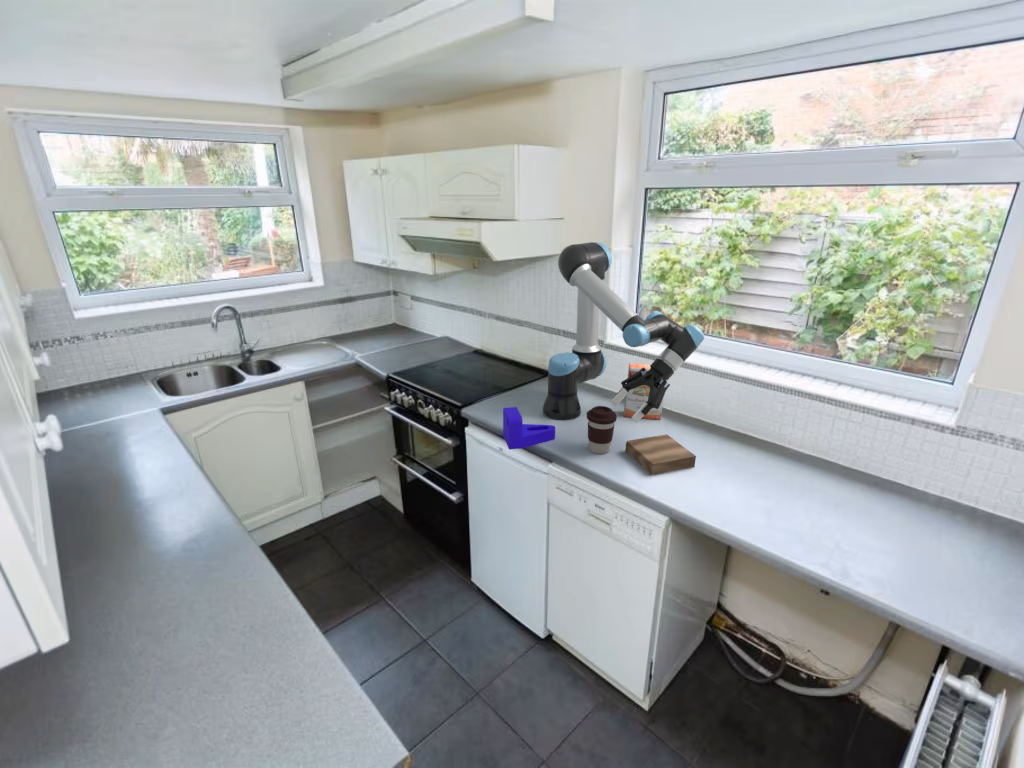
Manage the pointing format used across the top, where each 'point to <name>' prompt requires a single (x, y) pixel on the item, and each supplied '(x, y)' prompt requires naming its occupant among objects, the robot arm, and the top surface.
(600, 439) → the coffee cup
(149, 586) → the top surface
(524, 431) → the bracket
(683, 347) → the robot arm
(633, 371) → the cracker box
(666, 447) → the cup stand
